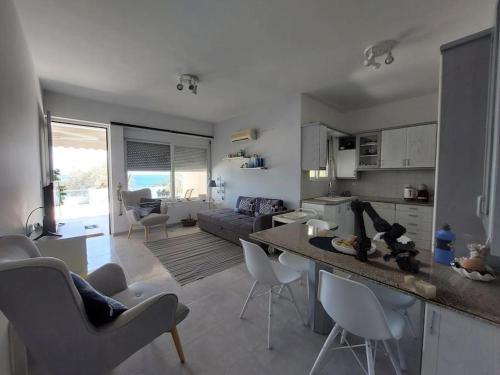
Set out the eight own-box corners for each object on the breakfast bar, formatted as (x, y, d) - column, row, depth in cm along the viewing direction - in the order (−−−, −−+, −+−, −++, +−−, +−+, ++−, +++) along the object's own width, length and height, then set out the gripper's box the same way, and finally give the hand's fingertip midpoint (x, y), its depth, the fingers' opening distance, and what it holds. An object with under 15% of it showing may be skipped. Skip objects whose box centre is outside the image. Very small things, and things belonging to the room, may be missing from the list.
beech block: (402, 276, 104) (427, 288, 92) (410, 274, 105) (436, 286, 94) (402, 285, 104) (427, 299, 93) (409, 284, 105) (435, 297, 94)
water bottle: (431, 260, 134) (432, 222, 132) (439, 258, 137) (441, 221, 136) (449, 266, 125) (451, 226, 124) (458, 264, 128) (459, 224, 127)
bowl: (373, 260, 135) (373, 249, 135) (326, 251, 153) (326, 240, 153) (378, 247, 159) (378, 237, 159) (337, 240, 177) (337, 231, 177)
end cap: (396, 268, 123) (397, 257, 123) (400, 265, 127) (401, 254, 127) (417, 275, 115) (418, 263, 115) (421, 271, 119) (421, 259, 119)
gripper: (388, 236, 103) (409, 267, 93) (416, 234, 108) (440, 263, 98) (375, 247, 111) (393, 276, 101) (401, 244, 116) (421, 271, 106)
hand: (412, 271), depth 101 cm, fingers closed
